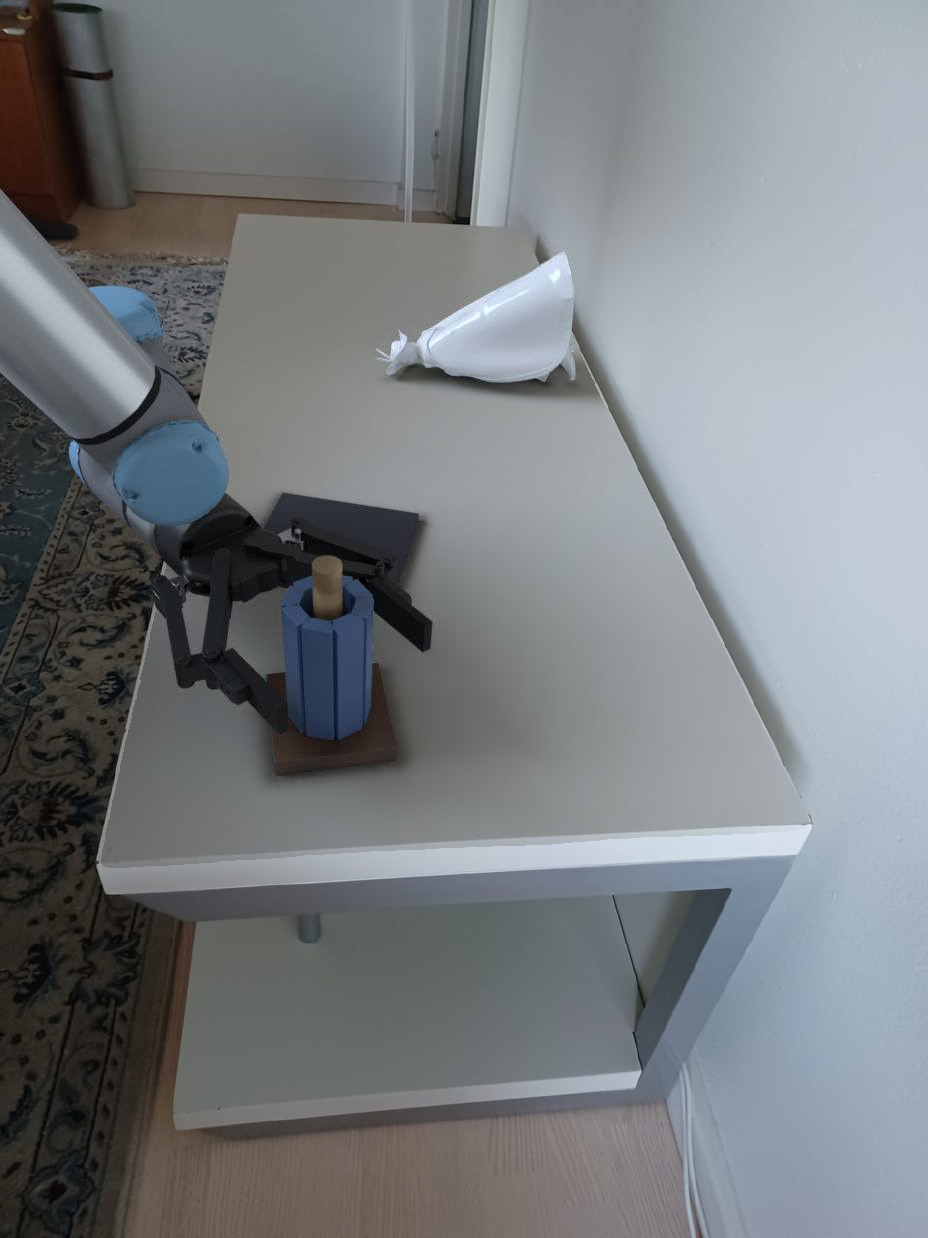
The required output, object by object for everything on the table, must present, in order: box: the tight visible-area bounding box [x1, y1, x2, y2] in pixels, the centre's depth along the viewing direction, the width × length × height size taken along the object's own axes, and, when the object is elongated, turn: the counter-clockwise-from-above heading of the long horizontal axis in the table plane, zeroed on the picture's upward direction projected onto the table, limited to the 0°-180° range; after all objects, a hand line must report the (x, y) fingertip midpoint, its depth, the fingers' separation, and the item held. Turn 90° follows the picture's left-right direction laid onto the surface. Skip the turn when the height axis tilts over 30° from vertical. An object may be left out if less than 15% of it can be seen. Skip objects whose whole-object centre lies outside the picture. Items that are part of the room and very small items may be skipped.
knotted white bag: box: [375, 251, 577, 383], centre depth 111 cm, size 14×16×25 cm
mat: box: [263, 492, 420, 586], centre depth 86 cm, size 14×12×1 cm
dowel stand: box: [265, 555, 399, 776], centre depth 65 cm, size 9×9×16 cm
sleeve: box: [280, 575, 375, 741], centre depth 65 cm, size 6×6×11 cm
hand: (360, 676), depth 63 cm, fingers open, 12 cm apart
